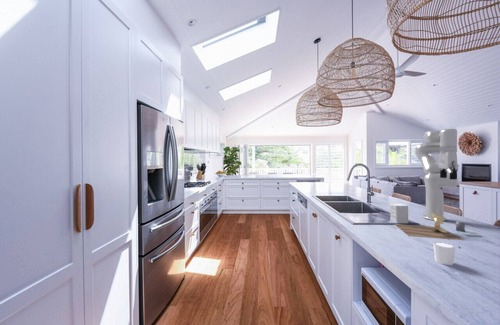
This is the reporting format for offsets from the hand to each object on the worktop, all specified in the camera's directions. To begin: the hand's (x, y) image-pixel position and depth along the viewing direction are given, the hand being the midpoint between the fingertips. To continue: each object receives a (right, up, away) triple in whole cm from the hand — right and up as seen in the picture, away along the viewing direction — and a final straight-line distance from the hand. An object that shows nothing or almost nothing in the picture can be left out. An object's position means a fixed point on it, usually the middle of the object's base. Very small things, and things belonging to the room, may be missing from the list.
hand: (448, 178), depth 130 cm
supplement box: (-22, -30, +11) cm, 39 cm away
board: (-20, -30, -8) cm, 37 cm away
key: (-15, -29, -10) cm, 34 cm away
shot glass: (-39, -31, -41) cm, 65 cm away
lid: (+1, -31, -6) cm, 31 cm away
